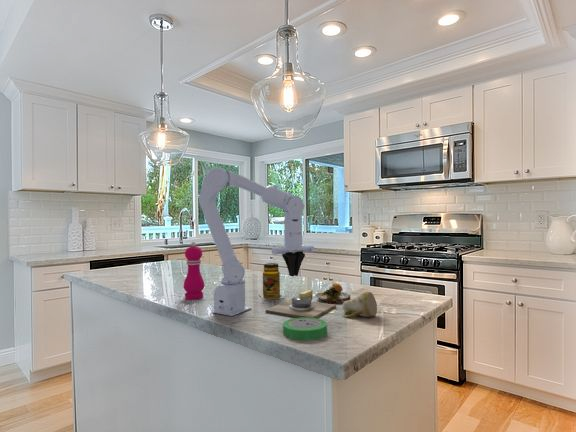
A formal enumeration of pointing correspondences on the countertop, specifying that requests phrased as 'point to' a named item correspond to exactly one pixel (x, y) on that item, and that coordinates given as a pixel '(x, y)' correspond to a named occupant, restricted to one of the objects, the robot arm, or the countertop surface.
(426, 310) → the countertop surface
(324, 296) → the plate of food
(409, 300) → the countertop surface
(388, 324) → the countertop surface
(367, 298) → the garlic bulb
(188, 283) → the pepper mill
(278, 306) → the post base
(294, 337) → the tape roll
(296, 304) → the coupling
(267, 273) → the condiment
